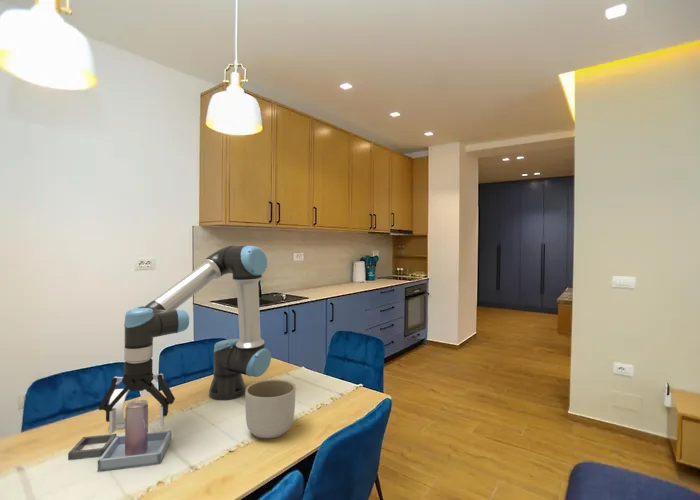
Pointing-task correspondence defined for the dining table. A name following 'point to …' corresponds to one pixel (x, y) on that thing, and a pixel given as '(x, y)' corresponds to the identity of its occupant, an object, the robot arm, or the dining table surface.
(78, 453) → the socket collar
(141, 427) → the beverage can
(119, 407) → the white curved strip
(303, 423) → the dining table surface
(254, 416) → the planter
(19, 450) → the dining table surface
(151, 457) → the tray
